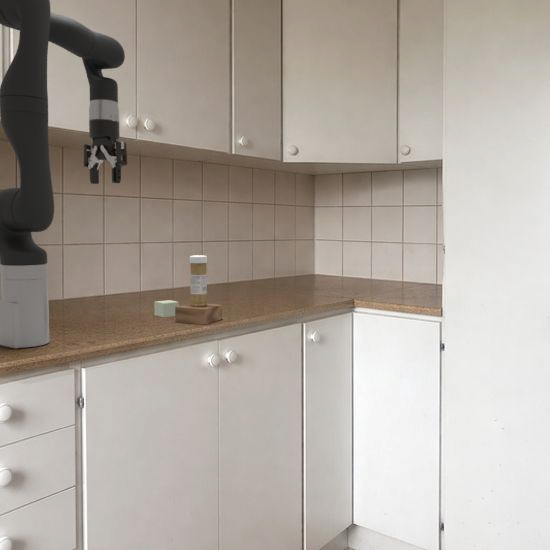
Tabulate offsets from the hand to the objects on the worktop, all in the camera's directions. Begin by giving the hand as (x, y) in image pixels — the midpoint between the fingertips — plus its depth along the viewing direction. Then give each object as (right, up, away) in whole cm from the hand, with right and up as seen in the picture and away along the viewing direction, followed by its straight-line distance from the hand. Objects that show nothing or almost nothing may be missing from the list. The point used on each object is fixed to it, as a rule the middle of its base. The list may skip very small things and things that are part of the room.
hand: (105, 183), depth 153 cm
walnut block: (+24, -36, +4) cm, 44 cm away
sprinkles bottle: (+24, -32, +3) cm, 40 cm away
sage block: (+14, -35, +12) cm, 40 cm away
